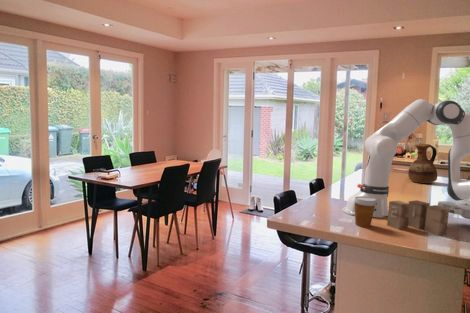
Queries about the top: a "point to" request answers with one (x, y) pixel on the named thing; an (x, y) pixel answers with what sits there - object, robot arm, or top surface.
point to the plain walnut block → (436, 220)
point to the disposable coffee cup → (364, 210)
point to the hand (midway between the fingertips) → (451, 211)
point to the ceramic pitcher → (423, 166)
